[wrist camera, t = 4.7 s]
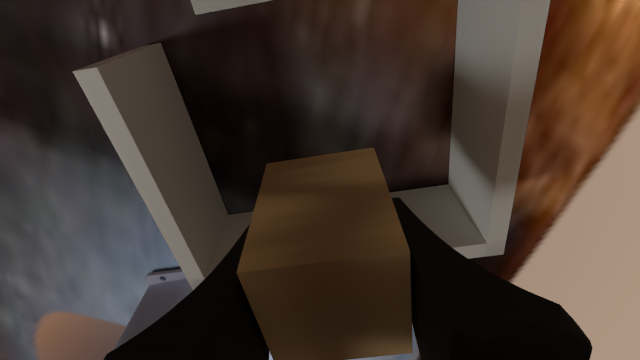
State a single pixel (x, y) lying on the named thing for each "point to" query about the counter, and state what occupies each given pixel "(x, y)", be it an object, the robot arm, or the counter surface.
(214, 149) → the counter surface
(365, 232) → the wooden block
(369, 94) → the counter surface
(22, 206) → the counter surface
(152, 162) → the open box
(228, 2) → the grey mat
